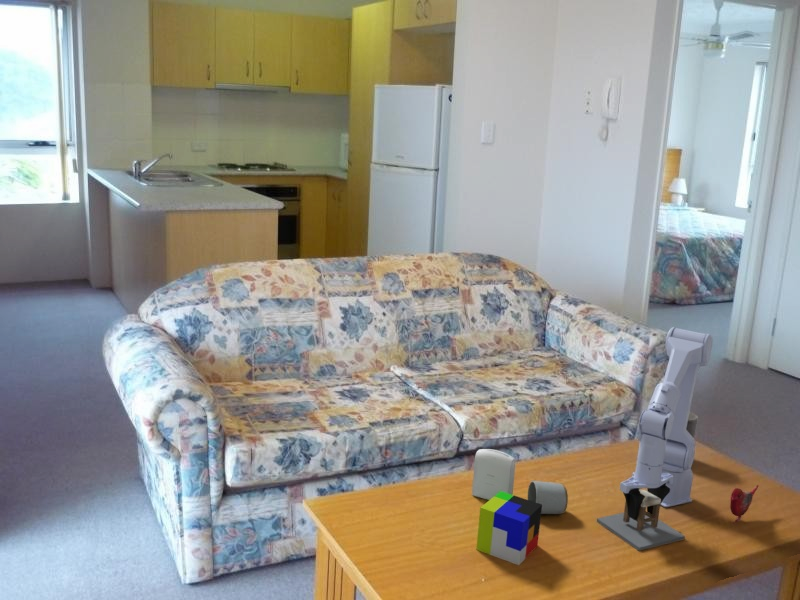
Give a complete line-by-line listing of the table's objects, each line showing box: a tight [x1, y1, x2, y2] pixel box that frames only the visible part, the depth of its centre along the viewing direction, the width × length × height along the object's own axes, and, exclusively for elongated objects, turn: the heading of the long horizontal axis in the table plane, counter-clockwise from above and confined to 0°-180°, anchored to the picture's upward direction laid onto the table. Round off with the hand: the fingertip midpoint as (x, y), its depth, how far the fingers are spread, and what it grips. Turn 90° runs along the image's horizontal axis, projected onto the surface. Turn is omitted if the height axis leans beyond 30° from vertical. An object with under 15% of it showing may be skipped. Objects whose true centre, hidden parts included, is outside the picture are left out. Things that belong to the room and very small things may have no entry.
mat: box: [596, 512, 686, 552], centre depth 192 cm, size 14×14×1 cm
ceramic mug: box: [527, 480, 569, 515], centre depth 199 cm, size 11×8×8 cm
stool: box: [623, 489, 661, 531], centre depth 192 cm, size 5×5×7 cm
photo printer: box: [471, 448, 516, 501], centre depth 202 cm, size 10×4×12 cm, turn 63°
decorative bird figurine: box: [729, 484, 759, 524], centre depth 200 cm, size 3×18×10 cm, turn 137°
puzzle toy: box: [475, 491, 542, 566], centre depth 180 cm, size 10×10×10 cm
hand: (642, 515), depth 192 cm, fingers closed on stool, 5 cm apart
